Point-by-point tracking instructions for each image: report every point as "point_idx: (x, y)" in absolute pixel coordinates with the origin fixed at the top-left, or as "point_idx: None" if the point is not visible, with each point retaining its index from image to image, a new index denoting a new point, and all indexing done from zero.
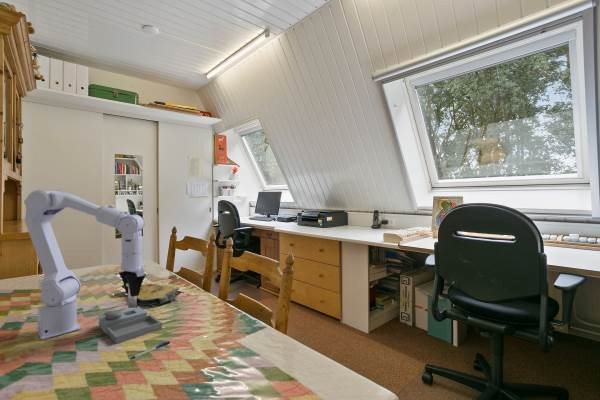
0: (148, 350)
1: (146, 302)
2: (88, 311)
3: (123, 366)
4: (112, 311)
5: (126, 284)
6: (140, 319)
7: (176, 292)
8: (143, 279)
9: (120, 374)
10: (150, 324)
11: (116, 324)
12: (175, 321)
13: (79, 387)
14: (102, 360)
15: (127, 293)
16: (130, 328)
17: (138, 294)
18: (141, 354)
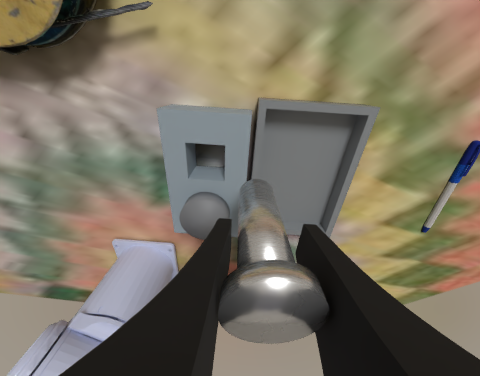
0: (446, 201)
1: (61, 21)
2: (38, 197)
3: (430, 248)
4: (188, 218)
5: (267, 338)
6: (262, 142)
7: None
8: (459, 346)
9: (448, 258)
10: (306, 122)
11: None
12: (364, 19)
13: (406, 294)
14: (365, 259)
15: (230, 249)
16: (277, 177)
17: (320, 230)
18: (437, 215)
